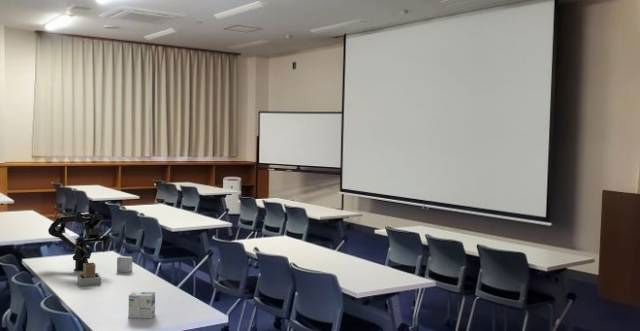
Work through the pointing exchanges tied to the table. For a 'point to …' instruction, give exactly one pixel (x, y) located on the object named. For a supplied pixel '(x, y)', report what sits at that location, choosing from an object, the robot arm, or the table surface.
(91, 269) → the small crate
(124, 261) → the medicine box
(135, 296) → the light bulb box
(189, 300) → the table surface
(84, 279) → the grey square tray
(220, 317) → the table surface
